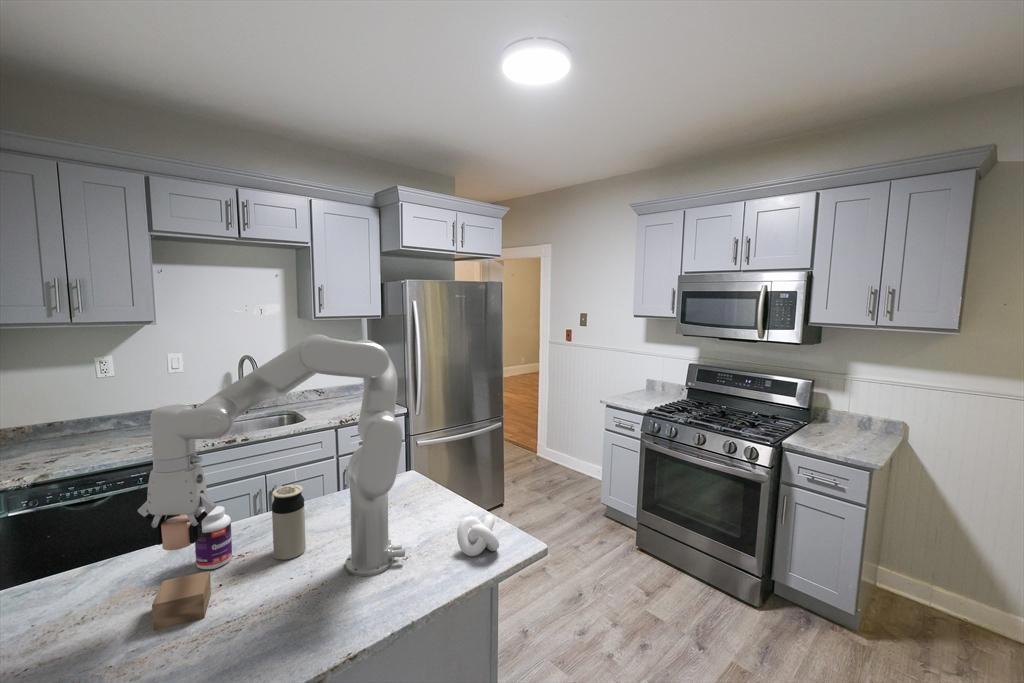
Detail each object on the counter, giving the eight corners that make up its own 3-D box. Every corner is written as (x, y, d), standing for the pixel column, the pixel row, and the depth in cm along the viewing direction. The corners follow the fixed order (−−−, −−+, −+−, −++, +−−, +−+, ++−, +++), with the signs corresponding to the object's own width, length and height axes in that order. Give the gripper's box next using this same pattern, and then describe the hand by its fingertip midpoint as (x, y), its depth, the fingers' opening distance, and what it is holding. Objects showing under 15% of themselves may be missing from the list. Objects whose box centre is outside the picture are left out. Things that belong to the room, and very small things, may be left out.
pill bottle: (214, 573, 115) (211, 519, 113) (188, 569, 116) (185, 516, 115) (239, 556, 123) (237, 505, 121) (214, 552, 124) (212, 502, 123)
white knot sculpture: (510, 548, 128) (510, 518, 127) (481, 567, 119) (481, 535, 118) (481, 535, 135) (481, 506, 134) (452, 552, 126) (452, 521, 125)
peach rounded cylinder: (201, 535, 103) (200, 514, 102) (186, 549, 97) (184, 527, 96) (173, 536, 102) (172, 515, 102) (155, 551, 96) (154, 528, 96)
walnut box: (211, 594, 107) (209, 570, 106) (204, 618, 99) (203, 593, 98) (164, 605, 103) (163, 580, 103) (153, 631, 95) (151, 605, 95)
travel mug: (278, 564, 119) (275, 499, 117) (270, 551, 125) (268, 489, 123) (309, 553, 124) (307, 491, 123) (300, 541, 130) (298, 481, 128)
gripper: (226, 455, 102) (229, 530, 104) (143, 457, 100) (148, 533, 102) (208, 467, 95) (212, 548, 97) (118, 470, 93) (124, 552, 95)
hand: (179, 540), depth 99 cm, fingers closed on peach rounded cylinder, 6 cm apart
